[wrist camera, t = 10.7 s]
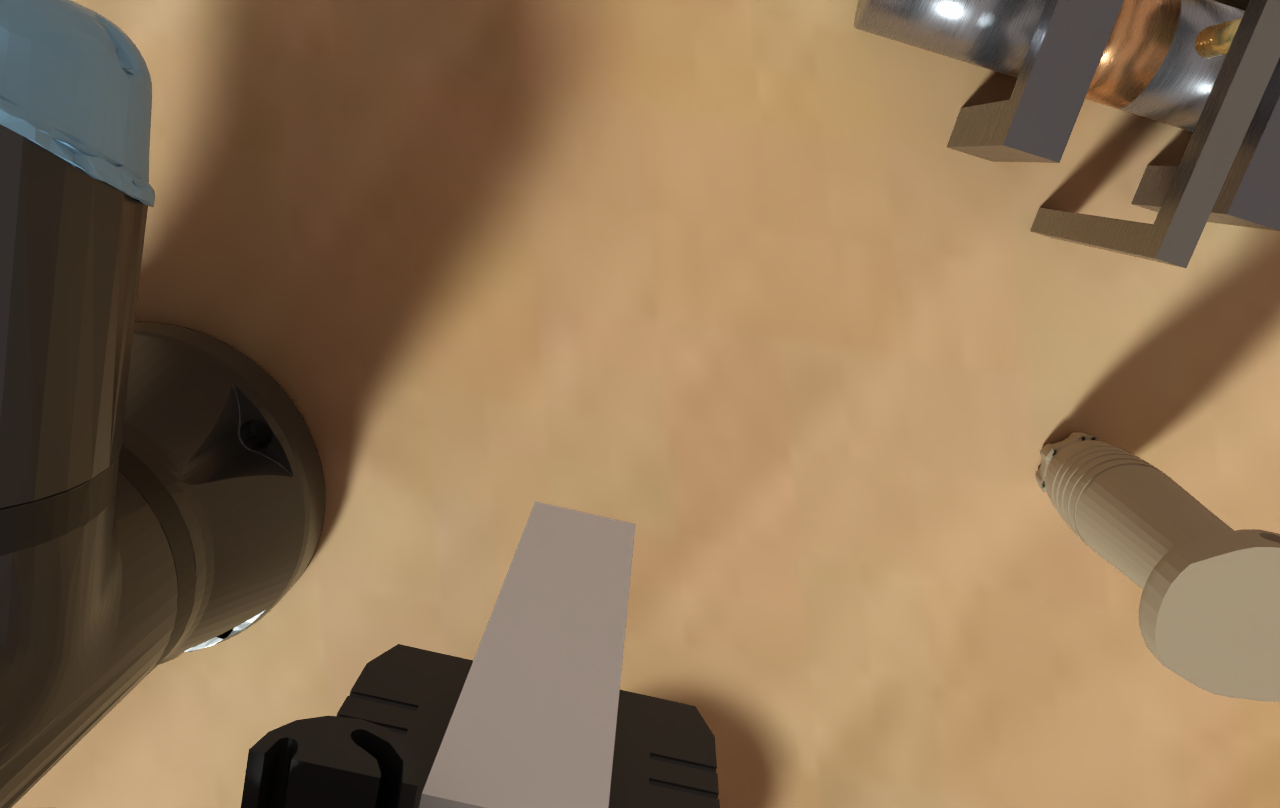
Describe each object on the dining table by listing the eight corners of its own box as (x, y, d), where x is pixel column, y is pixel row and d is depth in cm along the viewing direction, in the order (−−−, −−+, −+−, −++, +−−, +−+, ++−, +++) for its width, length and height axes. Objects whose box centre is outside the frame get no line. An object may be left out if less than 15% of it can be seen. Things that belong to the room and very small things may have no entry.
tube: (845, 41, 38) (872, 8, 34) (880, -70, 38) (911, -119, 33) (1272, 172, 39) (1352, 156, 34) (1311, 64, 38) (1397, 34, 34)
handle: (1007, 404, 42) (1178, 536, 27) (1155, 420, 42) (1406, 562, 27) (986, 507, 43) (1138, 686, 28) (1129, 523, 43) (1356, 711, 28)
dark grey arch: (946, 147, 39) (1003, 145, 32) (1037, -102, 37) (1119, -162, 30) (993, 161, 39) (1059, 162, 32) (1087, -86, 37) (1180, -142, 30)
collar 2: (1131, 203, 39) (1226, 214, 32) (1233, -40, 37) (1360, -85, 30) (1177, 218, 39) (1282, 231, 33) (1282, -24, 37) (1420, -66, 30)
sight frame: (1030, 230, 40) (1155, 258, 29) (1172, -128, 36) (1373, -245, 26) (1053, 238, 40) (1186, 268, 29) (1197, -120, 36) (1408, -233, 26)
